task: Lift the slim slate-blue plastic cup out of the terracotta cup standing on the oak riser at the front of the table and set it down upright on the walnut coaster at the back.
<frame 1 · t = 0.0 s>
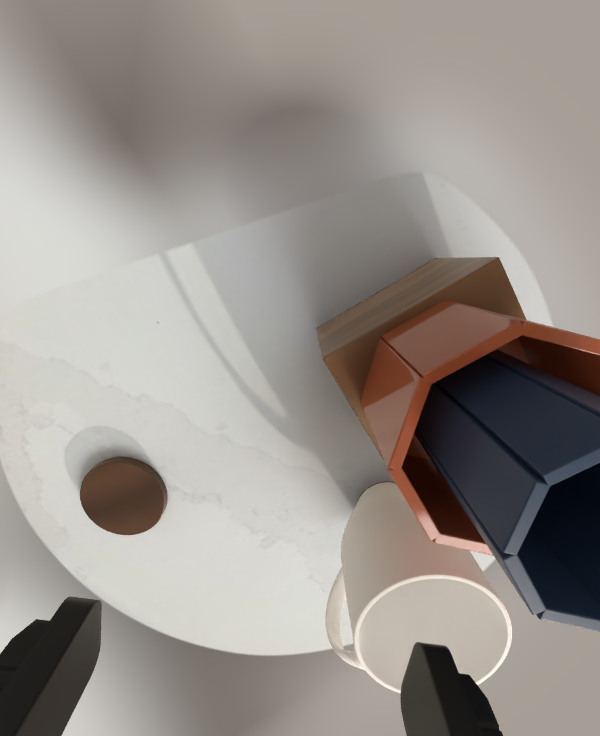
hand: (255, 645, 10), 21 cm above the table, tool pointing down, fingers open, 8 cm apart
slate cup: (453, 393, 20), point 10 cm above the table, touching terracotta cup
terracotta cup: (449, 389, 21), resting on riser
coaster: (126, 494, 33), on the table
mug: (374, 517, 34), on the table
riser: (405, 351, 29), on the table
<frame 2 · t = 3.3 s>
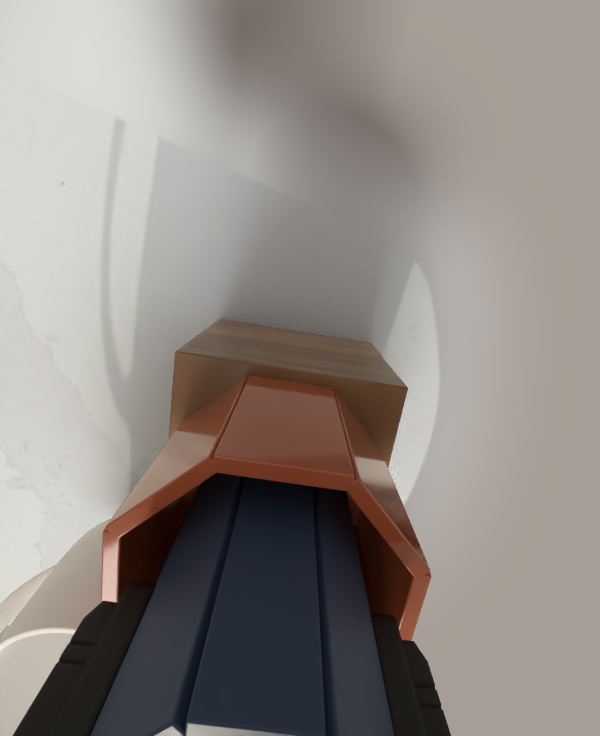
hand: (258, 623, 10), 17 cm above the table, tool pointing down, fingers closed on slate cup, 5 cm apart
slate cup: (275, 480, 17), point 10 cm above the table, touching gripper, terracotta cup
terracotta cup: (276, 473, 18), resting on riser
mug: (144, 530, 29), on the table
riser: (284, 402, 26), on the table
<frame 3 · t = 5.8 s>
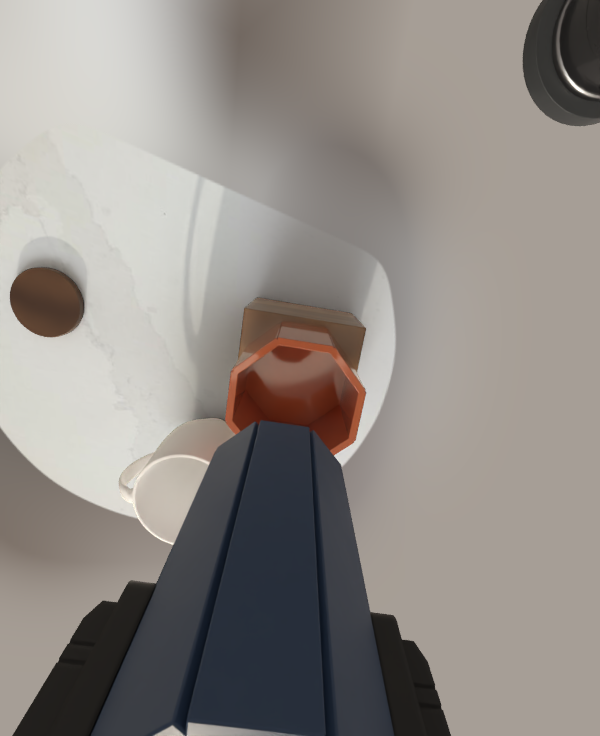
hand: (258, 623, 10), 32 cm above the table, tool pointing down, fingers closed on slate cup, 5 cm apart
slate cup: (275, 480, 17), point 25 cm above the table, touching gripper
terracotta cup: (295, 376, 32), resting on riser
coaster: (49, 302, 40), on the table
mug: (202, 439, 44), on the table
riser: (296, 351, 41), on the table
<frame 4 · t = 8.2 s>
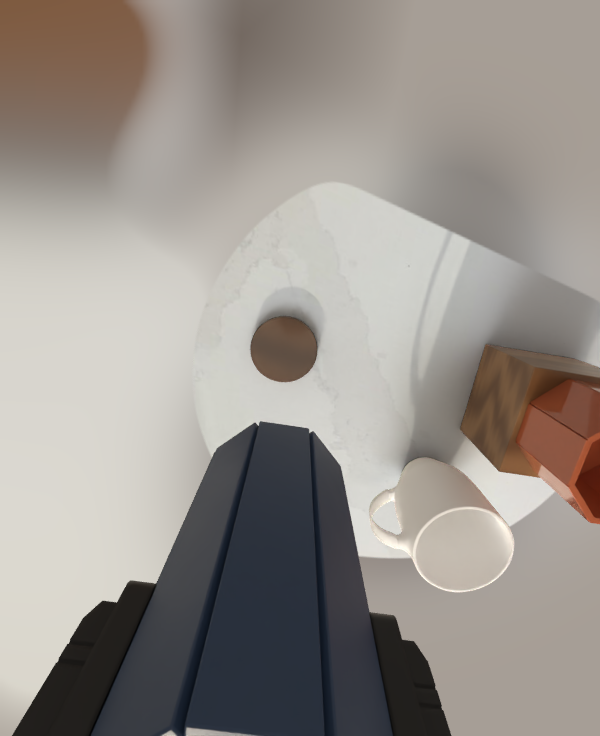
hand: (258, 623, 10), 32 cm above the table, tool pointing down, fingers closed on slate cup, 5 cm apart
slate cup: (275, 482, 17), point 25 cm above the table, touching gripper
terracotta cup: (571, 430, 34), resting on riser
coaster: (284, 348, 41), on the table
mug: (409, 477, 45), on the table
riser: (516, 395, 42), on the table
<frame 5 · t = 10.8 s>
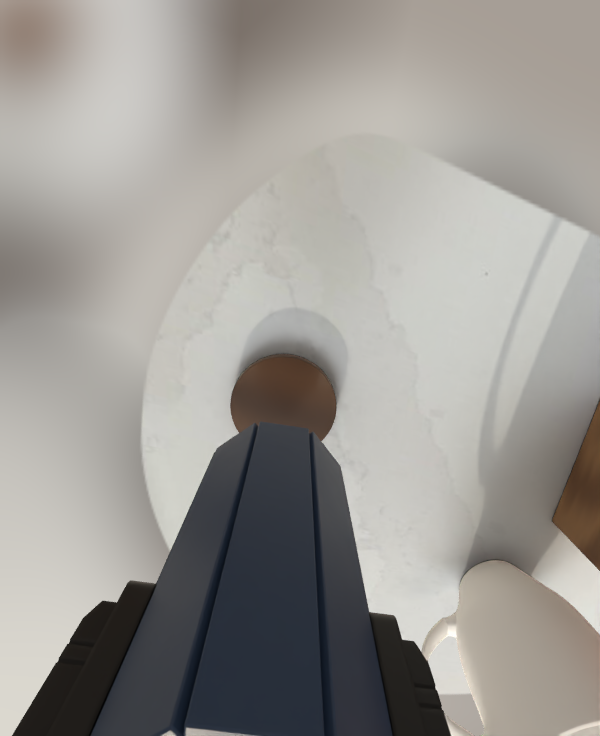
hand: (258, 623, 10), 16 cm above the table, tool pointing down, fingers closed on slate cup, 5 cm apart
slate cup: (275, 482, 17), point 9 cm above the table, touching gripper
coaster: (283, 403, 26), on the table
mug: (471, 586, 30), on the table
when the fingers open (8 cm above the table, at t = 13.1 s): slate cup stays where it is, resting on coaster.
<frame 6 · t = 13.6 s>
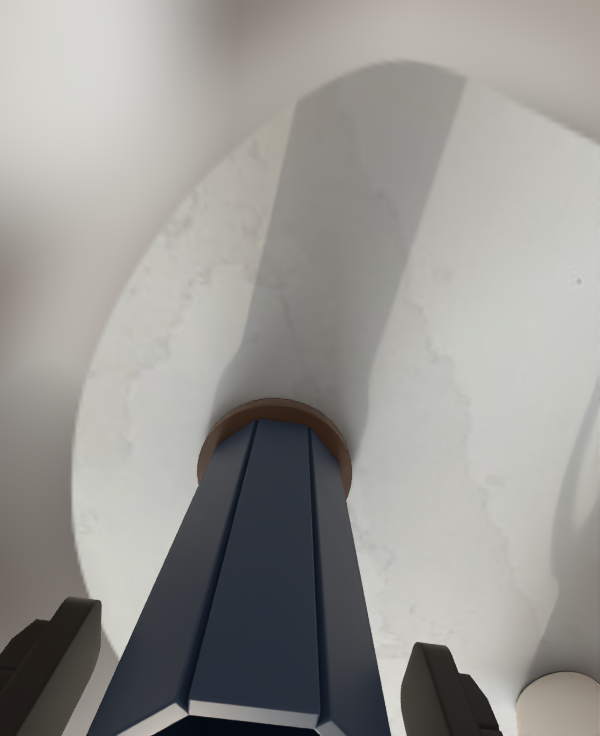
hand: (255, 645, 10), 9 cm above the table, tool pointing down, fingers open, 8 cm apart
slate cup: (274, 478, 17), point 1 cm above the table, touching coaster
coaster: (275, 467, 18), on the table
mug: (531, 703, 23), on the table
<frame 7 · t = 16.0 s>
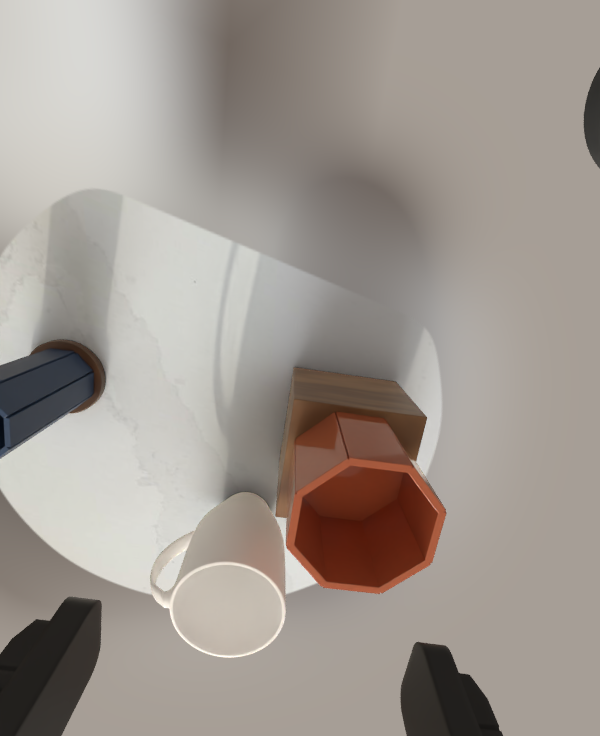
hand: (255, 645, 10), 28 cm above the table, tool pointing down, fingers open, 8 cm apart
slate cup: (63, 378, 36), point 1 cm above the table, touching coaster
terracotta cup: (348, 468, 29), resting on riser
coaster: (68, 375, 36), on the table
mug: (232, 514, 41), on the table
riser: (336, 422, 38), on the table
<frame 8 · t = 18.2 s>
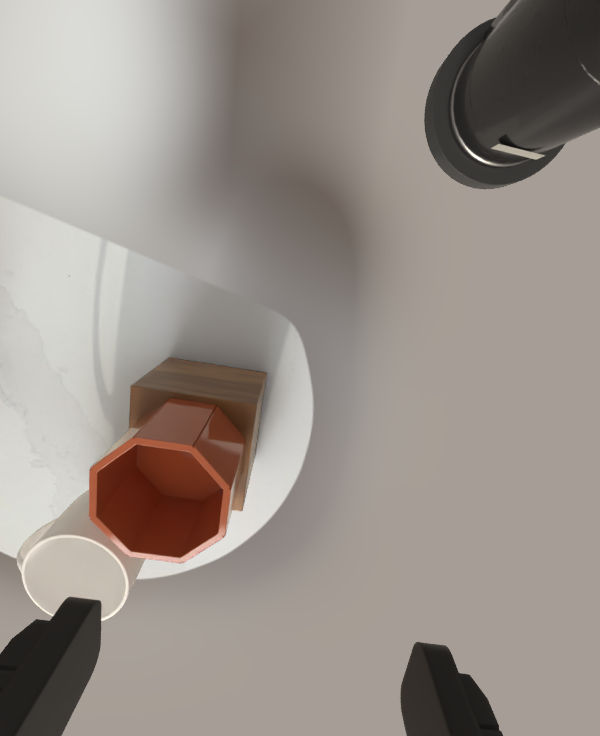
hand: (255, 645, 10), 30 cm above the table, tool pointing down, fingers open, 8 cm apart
terracotta cup: (189, 451, 32), resting on riser
mug: (123, 496, 43), on the table
riser: (213, 410, 40), on the table
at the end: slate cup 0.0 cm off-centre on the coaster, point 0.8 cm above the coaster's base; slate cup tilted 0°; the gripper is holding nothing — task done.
